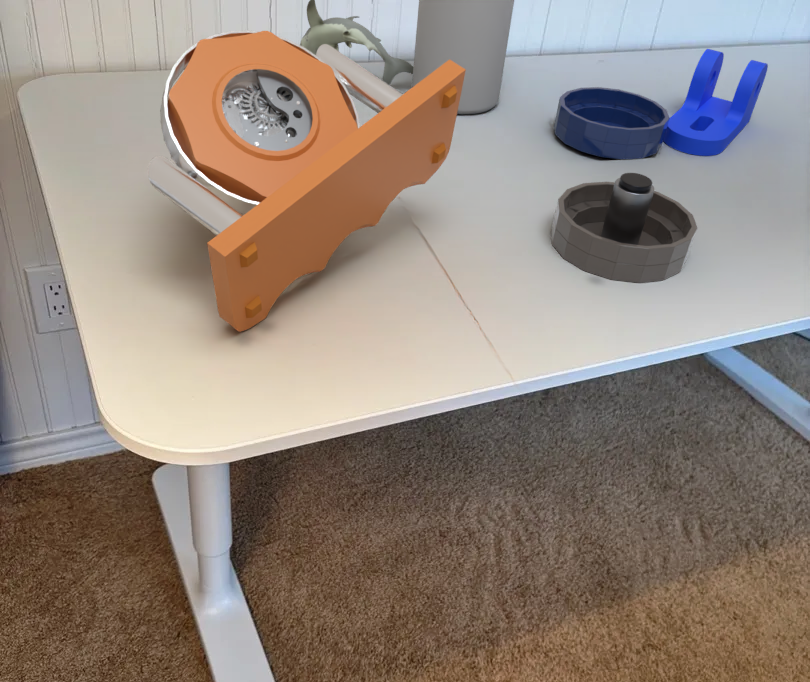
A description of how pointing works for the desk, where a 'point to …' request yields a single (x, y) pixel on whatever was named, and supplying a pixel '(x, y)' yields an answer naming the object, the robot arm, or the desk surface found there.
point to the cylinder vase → (465, 46)
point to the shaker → (628, 208)
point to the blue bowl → (610, 123)
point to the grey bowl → (645, 262)
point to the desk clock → (290, 156)
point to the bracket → (713, 108)
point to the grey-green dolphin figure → (348, 39)
